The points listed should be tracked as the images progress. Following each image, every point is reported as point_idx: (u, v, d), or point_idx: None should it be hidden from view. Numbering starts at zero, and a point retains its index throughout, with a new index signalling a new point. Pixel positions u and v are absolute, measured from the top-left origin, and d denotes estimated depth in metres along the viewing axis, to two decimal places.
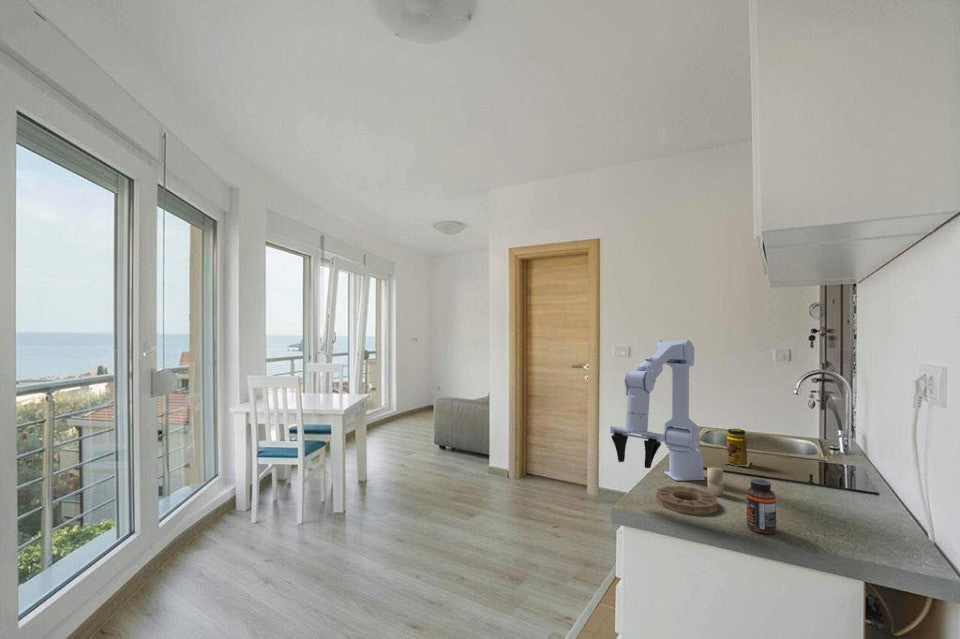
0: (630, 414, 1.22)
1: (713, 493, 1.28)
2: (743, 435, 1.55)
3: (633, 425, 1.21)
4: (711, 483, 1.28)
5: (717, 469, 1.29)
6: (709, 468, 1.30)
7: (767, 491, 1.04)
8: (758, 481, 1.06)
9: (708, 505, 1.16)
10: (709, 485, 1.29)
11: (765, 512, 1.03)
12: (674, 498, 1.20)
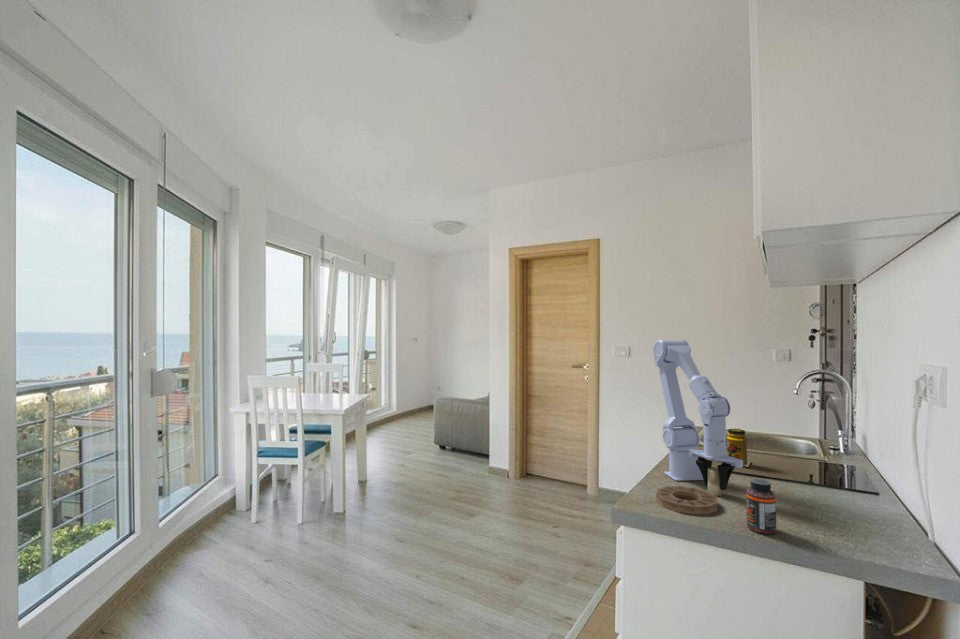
0: (707, 441, 1.28)
1: (713, 493, 1.28)
2: (743, 435, 1.55)
3: (710, 451, 1.27)
4: (711, 483, 1.28)
5: (717, 469, 1.29)
6: (709, 468, 1.30)
7: (767, 491, 1.04)
8: (758, 481, 1.06)
9: (708, 505, 1.16)
10: (709, 485, 1.29)
11: (765, 512, 1.03)
12: (674, 498, 1.20)
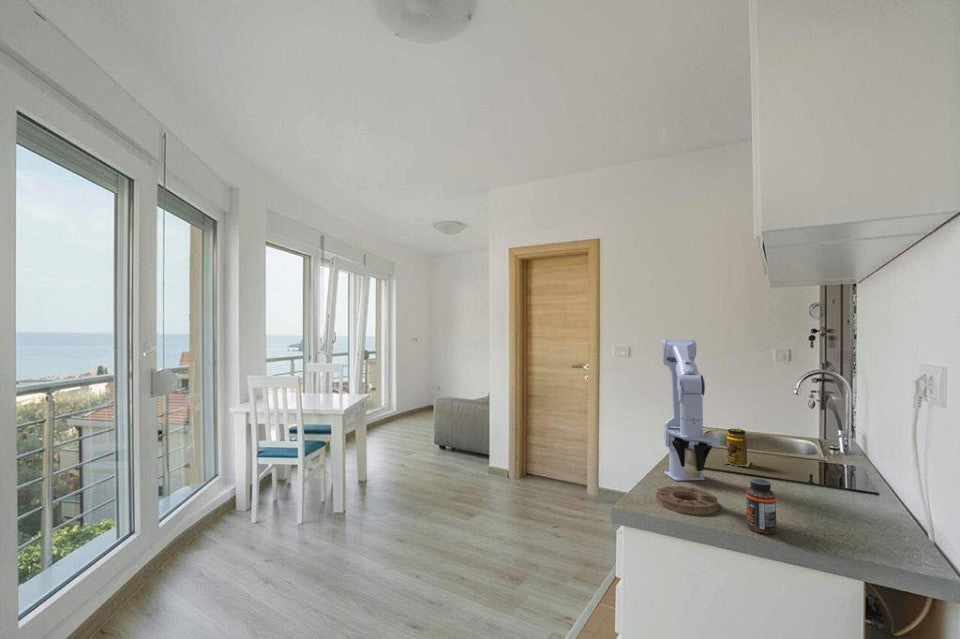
0: (683, 420, 1.23)
1: (690, 474, 1.22)
2: (743, 435, 1.55)
3: (687, 430, 1.22)
4: (688, 464, 1.23)
5: (694, 450, 1.24)
6: (686, 449, 1.25)
7: (767, 491, 1.04)
8: (758, 481, 1.06)
9: (708, 505, 1.16)
10: (686, 466, 1.23)
11: (765, 512, 1.03)
12: (674, 498, 1.20)
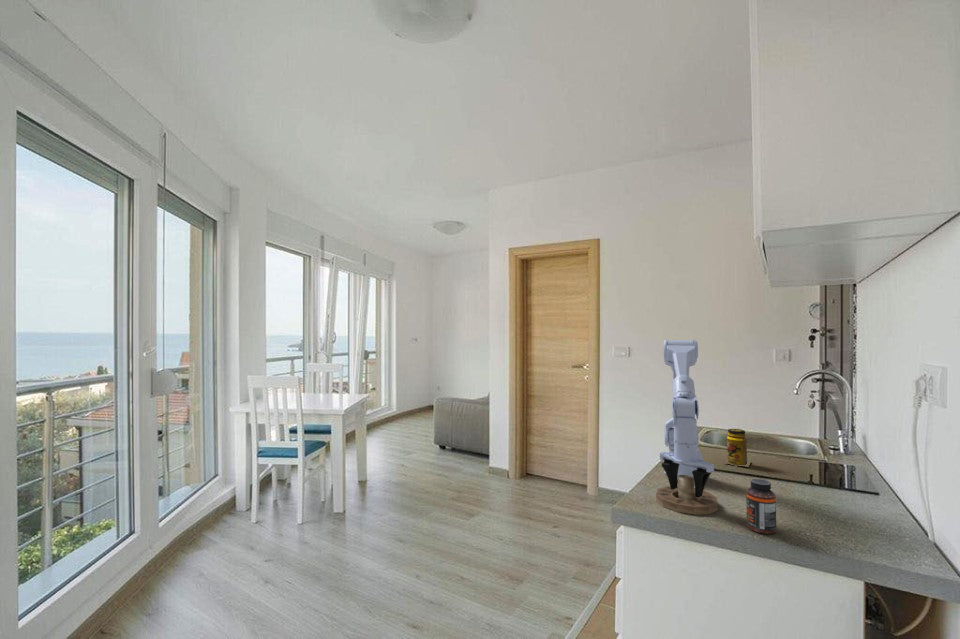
0: (677, 444, 1.22)
1: None
2: (743, 435, 1.55)
3: (681, 454, 1.21)
4: (682, 491, 1.21)
5: (688, 477, 1.22)
6: (680, 476, 1.23)
7: (767, 491, 1.04)
8: (758, 481, 1.06)
9: (708, 505, 1.16)
10: (679, 494, 1.22)
11: (765, 512, 1.03)
12: (674, 498, 1.20)
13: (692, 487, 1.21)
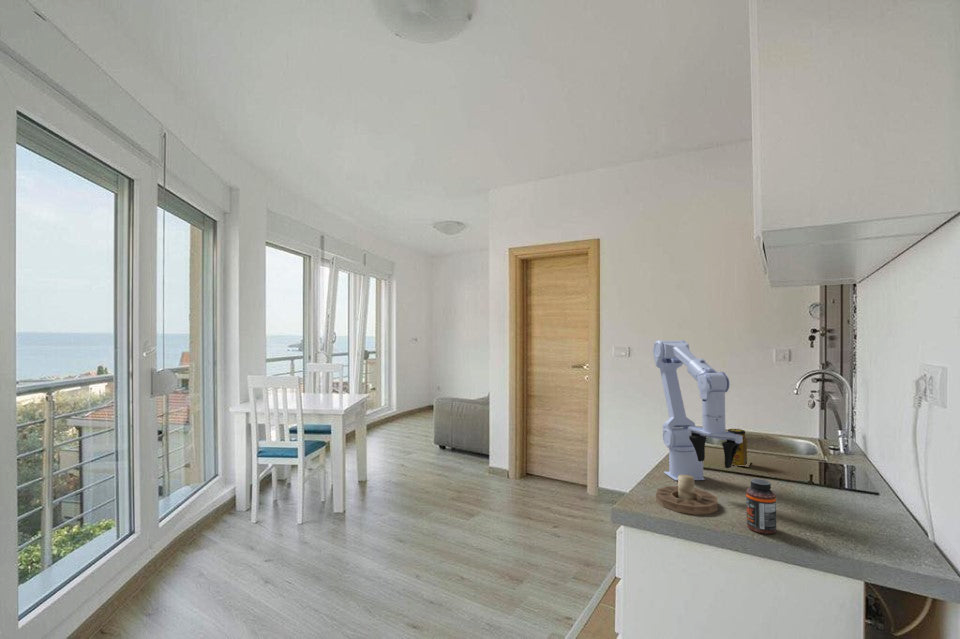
0: (706, 417, 1.25)
1: None
2: (743, 435, 1.55)
3: (709, 427, 1.24)
4: (682, 491, 1.21)
5: (688, 477, 1.22)
6: (680, 476, 1.23)
7: (767, 491, 1.04)
8: (758, 481, 1.06)
9: (708, 505, 1.16)
10: (679, 494, 1.22)
11: (765, 512, 1.03)
12: (674, 498, 1.20)
13: (692, 487, 1.21)
